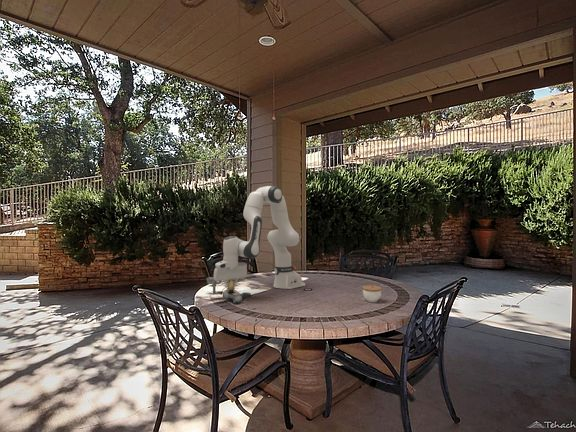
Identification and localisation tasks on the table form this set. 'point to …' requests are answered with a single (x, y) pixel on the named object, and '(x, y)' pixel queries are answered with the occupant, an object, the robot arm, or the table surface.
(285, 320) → the table surface
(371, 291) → the lidded jar
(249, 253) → the robot arm
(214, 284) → the mechanical component
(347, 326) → the table surface
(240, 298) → the chain ends
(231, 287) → the brass pin
